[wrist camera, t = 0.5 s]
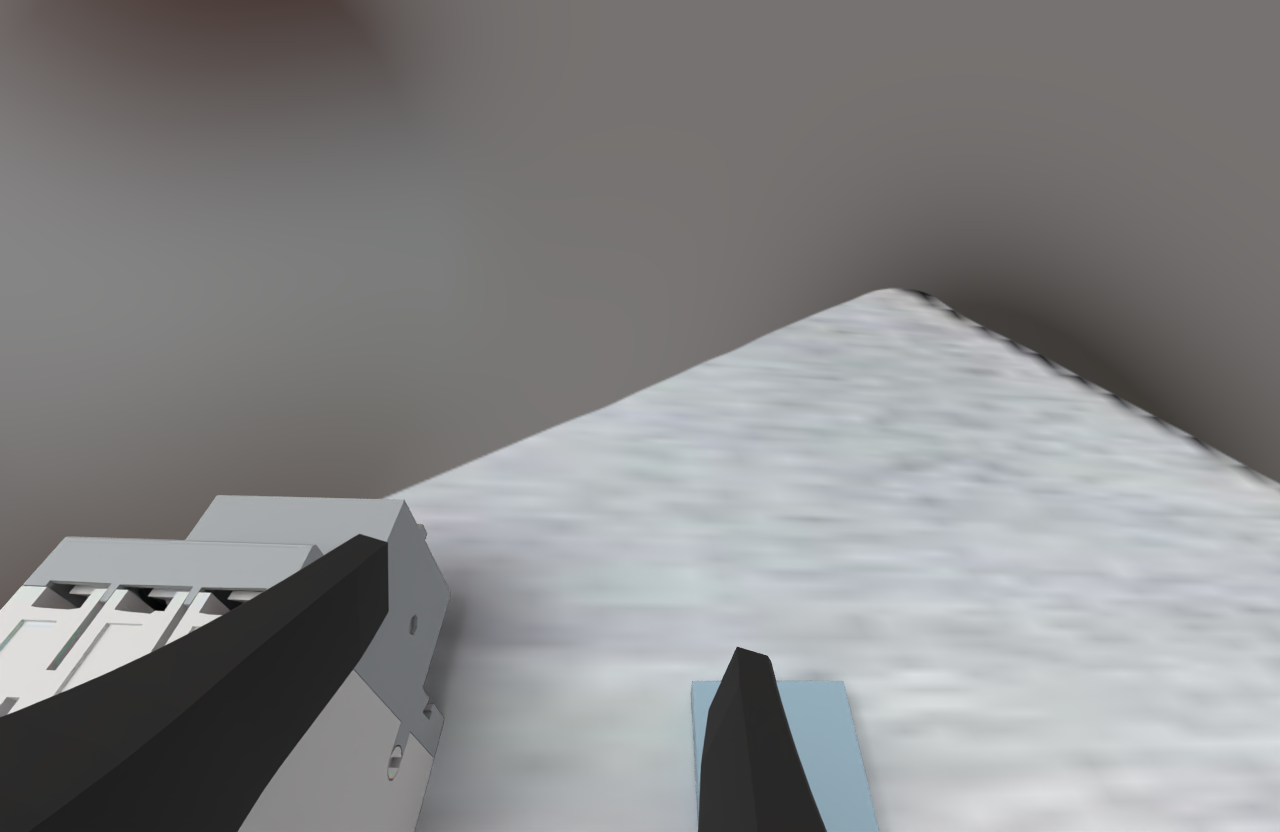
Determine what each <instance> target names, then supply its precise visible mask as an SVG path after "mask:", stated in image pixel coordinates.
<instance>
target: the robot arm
mask: <svg viewBox="0 0 1280 832" xmlns="http://www.w3.org/2000/svg"><path fill="white" fill-rule="evenodd" d="M388 612H389V589H388V542H386V541H382V540H379V539H376V538H372V537H369V536H366V535H362V534H358V535H356V536H354V537H353V538H351V539H349V540H348V541H346V542H344V543H343V544H341V545H340V546H338V547H336V548H335V549H333V550H331V551H330V552H328V553H327V554H325V555H323V556H322V557H320V558H319V559H317V560H315V561H314V562H312V563H310V564H309V565H307V566H306V567H304V568H302V569H301V570H299V571H297V572H296V573H294V574H292V575H291V576H289V577H288V578H286V579H284V580H283V581H281V582H279V583H277V584H276V585H274V586H272V587H271V588H269V589H267V590H266V591H264V592H262V593H260V594H259V595H257V596H255V597H254V598H252V599H250V600H248V601H247V602H245V603H243V604H242V605H240V606H238V607H236V608H234V609H233V610H231V611H229V612H227V613H225V614H223V615H222V616H220V617H218V618H216V619H214V620H212V621H210V622H209V623H207V624H205V625H203V626H201V627H199V628H198V629H196V630H194V631H192V632H190V633H188V634H186V635H184V636H183V637H181V638H179V639H177V640H175V641H173V642H171V643H169V644H167V645H165V646H163V647H161V648H159V649H157V650H155V651H153V652H151V653H149V654H146V655H144V656H142V657H140V658H138V659H136V660H134V661H132V662H130V663H127V664H125V665H123V666H121V667H119V668H117V669H115V670H112V671H110V672H108V673H106V674H103V675H101V676H99V677H97V678H94V679H92V680H90V681H87V682H85V683H83V684H80V685H78V686H76V687H73V688H71V689H69V690H66V691H64V692H61V693H59V694H57V695H54V696H52V697H49V698H47V699H44V700H42V701H40V702H37V703H35V704H32V705H30V706H28V707H25V708H23V709H20V710H18V711H15V712H13V713H10V714H7V715H5V716H2V717H0V832H238V830H239V829H240V827H241V825H242V824H243V822H244V821H245V819H246V818H247V816H248V814H249V813H250V811H251V810H252V808H253V806H254V805H255V803H256V802H257V800H258V799H259V797H260V795H261V794H262V792H263V791H264V789H265V788H266V786H267V785H268V784H269V782H270V781H271V779H272V778H273V776H274V775H275V774H276V772H277V771H278V769H279V768H280V766H281V765H282V764H283V762H284V761H285V760H286V758H287V757H288V756H289V754H290V753H291V752H292V750H293V749H294V748H295V746H296V745H297V744H298V742H299V741H300V740H301V739H302V737H303V736H304V735H305V733H306V732H307V731H308V729H309V728H310V727H311V725H312V724H313V723H314V721H315V720H316V719H317V717H318V716H319V715H320V713H321V712H322V711H323V709H324V708H325V707H326V705H327V704H328V703H329V701H330V700H331V699H332V697H333V696H334V695H335V693H336V692H337V691H338V689H339V688H340V687H341V685H342V684H343V683H344V681H345V680H346V679H347V677H348V676H349V675H350V673H351V672H352V670H353V669H354V668H355V666H356V665H357V664H358V662H359V661H360V659H361V658H362V656H363V655H364V653H365V651H366V650H367V648H368V646H369V645H370V643H371V641H372V640H373V638H374V636H375V635H376V633H377V631H378V629H379V628H380V626H381V624H382V622H383V621H384V619H385V617H386V615H387V614H388ZM698 832H827V830H826V828H825V825H824V823H823V820H822V818H821V815H820V813H819V810H818V807H817V805H816V802H815V799H814V797H813V794H812V792H811V789H810V786H809V783H808V780H807V778H806V775H805V772H804V769H803V766H802V763H801V760H800V758H799V755H798V752H797V749H796V746H795V743H794V740H793V737H792V734H791V731H790V727H789V724H788V721H787V717H786V714H785V711H784V708H783V704H782V701H781V697H780V694H779V690H778V686H777V683H776V679H775V675H774V671H773V667H772V663H771V660H770V659H769V657H768V656H766V655H763V654H760V653H756V652H753V651H750V650H746V649H743V648H740V647H737V648H736V650H735V652H734V654H733V657H732V659H731V661H730V663H729V665H728V668H727V670H726V672H725V674H724V676H723V679H722V681H721V683H720V685H719V687H718V690H717V692H716V694H715V696H714V698H713V701H712V703H711V705H710V707H709V710H708V717H707V724H706V731H705V737H704V745H703V752H702V760H701V773H700V797H699V824H698Z"/></svg>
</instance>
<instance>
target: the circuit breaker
mask: <svg viewBox="0 0 1280 832" xmlns="http://www.w3.org/2000/svg"><path fill="white" fill-rule="evenodd" d="M358 534H362V535H366V536H369V537H372V538H376V539H379V540H382V541H386V542H388V589H389V612H388V614H387V615H386V617H385V619H384V621H383V622H382V624H381V626H380V628H379V629H378V631H377V633H376V635H375V636H374V638H373V640H372V641H371V643H370V645H369V646H368V648H367V650H366V651H365V653H364V655H363V656H362V658H361V659H360V661H359V662H358V664H357V665H356V666H355V668H354V669H353V670H352V672H351V673H350V675H349V676H348V677H347V679H346V680H345V681H344V683H343V684H342V685H341V687H340V688H339V689H338V691H337V692H336V693H335V695H334V696H333V697H332V699H331V700H330V701H329V703H328V704H327V705H326V707H325V708H324V709H323V711H322V712H321V713H320V715H319V716H318V717H317V719H316V720H315V721H314V723H313V724H312V725H311V727H310V728H309V729H308V731H307V732H306V733H305V735H304V736H303V737H302V739H301V740H300V741H299V742H298V744H297V745H296V746H295V748H294V749H293V750H292V752H291V753H290V754H289V756H288V757H287V758H286V760H285V761H284V762H283V764H282V765H281V766H280V768H279V769H278V771H277V772H276V774H275V775H274V776H273V778H272V779H271V781H270V782H269V784H268V785H267V786H266V788H265V789H264V791H263V792H262V794H261V795H260V797H259V799H258V800H257V802H256V803H255V805H254V806H253V808H252V810H251V811H250V813H249V814H248V816H247V818H246V819H245V821H244V822H243V824H242V825H241V827H240V829H239V830H238V832H415V828H416V824H417V821H418V817H419V813H420V809H421V806H422V802H423V798H424V794H425V791H426V787H427V783H428V779H429V776H430V772H431V768H432V764H433V760H434V757H435V753H436V749H437V745H438V742H439V738H440V734H441V730H442V726H443V723H444V717H443V716H442V714H441V713H440V712H439V710H438V709H437V708H436V706H435V705H434V704H427V703H428V701H429V699H430V698H429V697H428V695H427V694H426V693H425V691H424V689H423V686H424V683H425V679H426V676H427V673H428V669H429V666H430V663H431V659H432V656H433V652H434V649H435V646H436V642H437V639H438V636H439V632H440V629H441V626H442V622H443V619H444V616H445V612H446V609H447V606H448V602H449V599H450V596H451V592H450V590H449V588H448V586H447V584H446V582H445V580H444V578H443V576H442V574H441V572H440V570H439V568H438V566H437V564H436V562H435V560H434V558H433V556H432V554H431V552H430V550H429V548H428V546H427V544H426V542H425V539H426V536H427V532H426V530H425V528H424V526H423V524H417V523H416V521H415V519H414V517H413V515H412V513H411V511H410V510H409V507H408V506H407V504H406V502H405V500H388V499H350V498H348V499H347V498H313V497H312V498H311V497H310V498H309V497H275V496H236V495H235V496H234V495H218V496H216V498H215V499H214V501H213V502H212V503H211V505H210V506H209V508H208V509H207V511H206V512H205V513H204V515H203V516H202V517H201V519H200V520H199V522H198V523H197V525H196V526H195V527H194V529H193V530H192V532H191V533H190V534H189V536H188V537H187V539H186V540H164V539H133V538H101V537H65V538H64V539H63V540H62V542H61V543H60V544H59V545H58V546H57V547H56V548H55V550H54V551H53V552H52V553H51V554H50V555H49V556H48V557H47V558H46V560H45V561H44V562H43V563H42V564H41V565H40V566H39V568H38V569H37V570H36V571H35V572H34V573H33V574H32V575H31V576H30V578H29V579H28V580H27V581H26V582H25V583H24V584H23V585H24V586H21V588H20V589H19V590H18V591H17V592H16V593H15V594H14V596H13V597H12V598H11V599H10V600H9V601H8V602H7V603H6V605H5V606H4V607H3V608H2V609H1V610H0V717H2V716H5V715H7V714H10V713H13V712H15V711H18V710H20V709H23V708H25V707H28V706H30V705H32V704H35V703H37V702H40V701H42V700H44V699H47V698H49V697H52V696H54V695H57V694H59V693H61V692H64V691H66V690H69V689H71V688H73V687H76V686H78V685H80V684H83V683H85V682H87V681H90V680H92V679H94V678H97V677H99V676H101V675H103V674H106V673H108V672H110V671H112V670H115V669H117V668H119V667H121V666H123V665H125V664H127V663H130V662H132V661H134V660H136V659H138V658H140V657H142V656H144V655H146V654H149V653H151V652H153V651H155V650H157V649H159V648H161V647H163V646H165V645H167V644H169V643H171V642H173V641H175V640H177V639H179V638H181V637H183V636H184V635H186V634H188V633H190V632H192V631H194V630H196V629H198V628H199V627H201V626H203V625H205V624H207V623H209V622H210V621H212V620H214V619H216V618H218V617H220V616H222V615H223V614H225V613H227V612H229V611H231V610H233V609H234V608H236V607H238V606H240V605H242V604H243V603H245V602H247V601H248V600H250V599H252V598H254V597H255V596H257V595H259V594H260V593H262V592H264V591H266V590H267V589H269V588H271V587H272V586H274V585H276V584H277V583H279V582H281V581H283V580H284V579H286V578H288V577H289V576H291V575H292V574H294V573H296V572H297V571H299V570H301V569H302V568H304V567H306V566H307V565H309V564H310V563H312V562H314V561H315V560H317V559H319V558H320V557H322V556H323V555H325V554H327V553H328V552H330V551H331V550H333V549H335V548H336V547H338V546H340V545H341V544H343V543H344V542H346V541H348V540H349V539H351V538H353V537H354V536H356V535H358Z"/></svg>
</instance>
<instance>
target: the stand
mask: <svg viewBox="0 0 1280 832" xmlns="http://www.w3.org/2000/svg"><path fill="white" fill-rule="evenodd" d="M720 683H721V681H692V688H691V704H692V722H693V740H694V758H695V776H696V793H697V811H698V824H699V797H700V773H701V760H702V752H703V745H704V737H705V731H706V724H707V717H708V710H709V707H710V705H711V703H712V701H713V698H714V696H715V694H716V692H717V690H718V687H719V685H720ZM776 683H777V686H778V690H779V694H780V697H781V701H782V704H783V708H784V711H785V714H786V717H787V721H788V724H789V727H790V731H791V734H792V737H793V740H794V743H795V746H796V749H797V752H798V755H799V758H800V760H801V763H802V766H803V769H804V772H805V775H806V778H807V780H808V783H809V786H810V789H811V792H812V794H813V797H814V799H815V802H816V805H817V807H818V810H819V813H820V815H821V818H822V820H823V823H824V825H825V828H826V830H827V832H879V828H878V824H877V820H876V816H875V811H874V807H873V803H872V799H871V795H870V790H869V786H868V782H867V778H866V774H865V770H864V765H863V761H862V757H861V753H860V749H859V744H858V740H857V736H856V732H855V728H854V723H853V719H852V715H851V711H850V707H849V703H848V698H847V694H846V690H845V686H844V682H843V681H776Z"/></svg>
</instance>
